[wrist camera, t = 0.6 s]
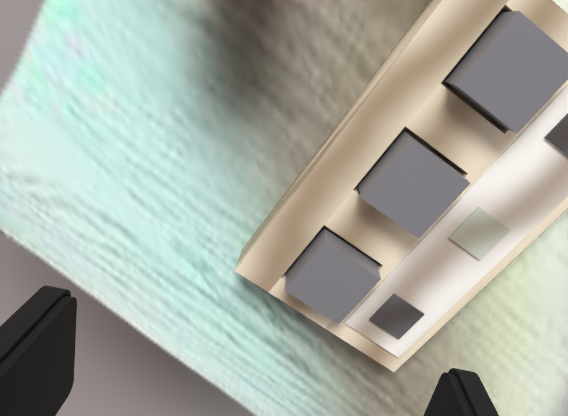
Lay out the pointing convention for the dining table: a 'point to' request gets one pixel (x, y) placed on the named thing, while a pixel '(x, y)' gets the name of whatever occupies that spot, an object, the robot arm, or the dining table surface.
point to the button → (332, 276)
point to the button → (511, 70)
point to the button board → (457, 217)
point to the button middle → (412, 185)
